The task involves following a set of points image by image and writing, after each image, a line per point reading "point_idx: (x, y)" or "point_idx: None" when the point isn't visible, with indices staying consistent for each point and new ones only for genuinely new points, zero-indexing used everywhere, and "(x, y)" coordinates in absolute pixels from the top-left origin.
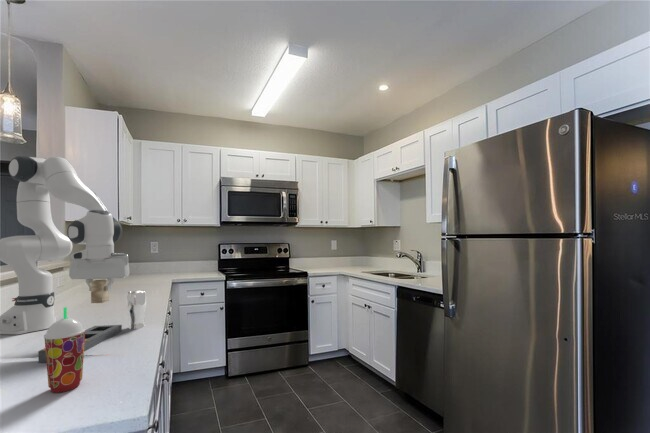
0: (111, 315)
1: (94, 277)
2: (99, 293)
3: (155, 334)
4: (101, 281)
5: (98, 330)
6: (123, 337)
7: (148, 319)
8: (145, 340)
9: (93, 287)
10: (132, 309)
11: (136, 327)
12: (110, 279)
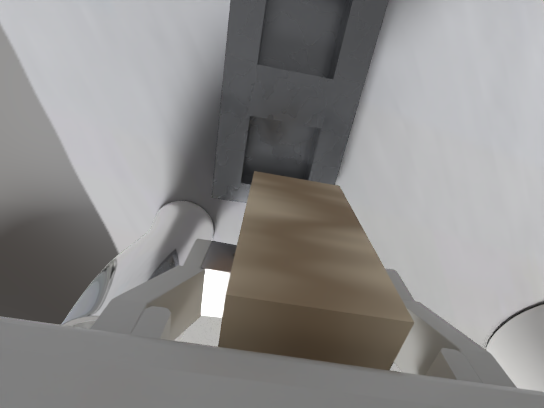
0: None
1: (382, 384)
2: (275, 207)
3: (66, 130)
4: (239, 289)
5: None
6: (188, 129)
7: (201, 334)
8: (60, 44)
9: (350, 254)
10: (151, 246)
11: (169, 208)
12: (99, 324)
